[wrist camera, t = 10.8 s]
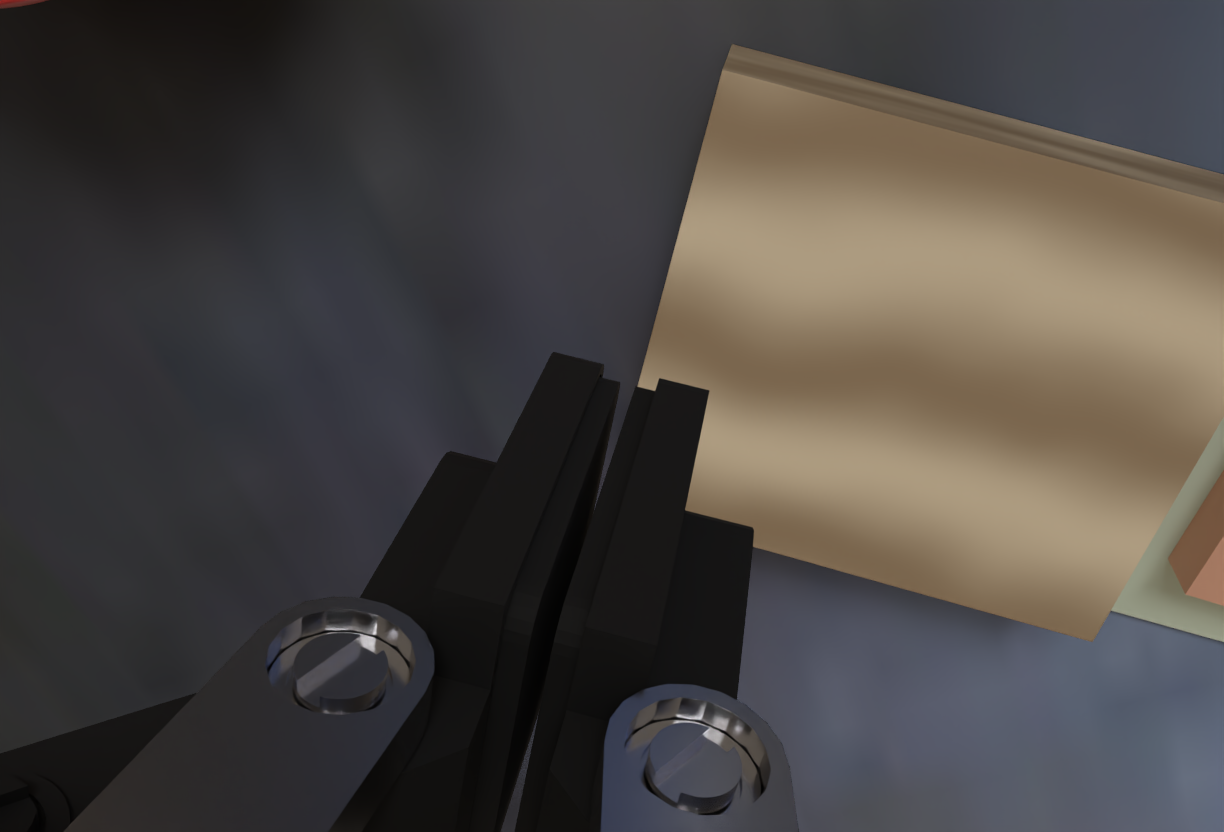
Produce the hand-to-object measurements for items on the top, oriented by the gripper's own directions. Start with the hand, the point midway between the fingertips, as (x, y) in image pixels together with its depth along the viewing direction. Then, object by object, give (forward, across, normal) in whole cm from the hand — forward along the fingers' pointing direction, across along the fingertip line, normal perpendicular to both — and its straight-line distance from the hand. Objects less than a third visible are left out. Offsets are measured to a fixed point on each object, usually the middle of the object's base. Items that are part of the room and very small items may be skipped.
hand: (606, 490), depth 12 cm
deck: (+23, -7, +7) cm, 26 cm away
